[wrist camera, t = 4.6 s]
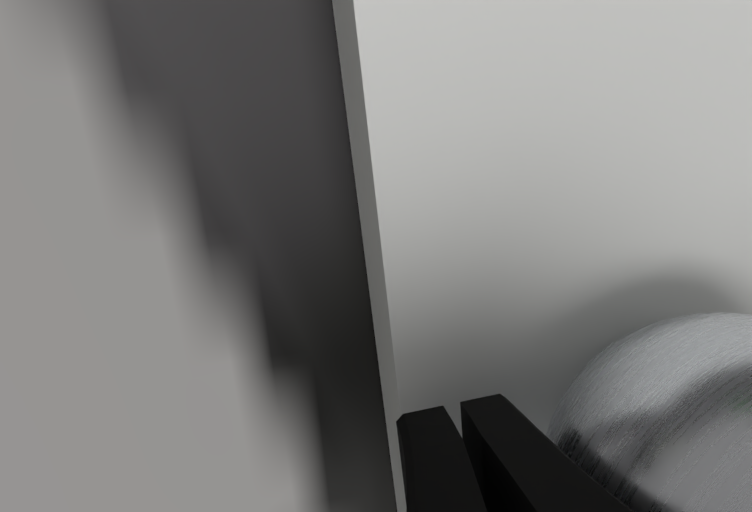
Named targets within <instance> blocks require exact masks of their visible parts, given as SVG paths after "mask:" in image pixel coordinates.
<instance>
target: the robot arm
mask: <svg viewBox="0 0 752 512" xmlns="http://www.w3.org/2000/svg"><path fill="white" fill-rule="evenodd" d="M460 408H461V424H462V437H461V435H460V433H459V432H458V430H457V428H456V426H455V424H454V422H453V421H452V419H451V417H450V416H449V414H448V413H447V411H446V409H445V408H444V406H438V407H433V408H428V409H424V410H419V411H414V412H409V413H405V414H402V415H401V417H400V418H399V419H398V420H397V421H396V425H397V434H398V442H399V450H400V458H401V466H402V474H403V483H404V491H405V499H406V507H407V510H406V512H634V511H633V510H631V509H630V508H629V507H628V506H626V505H625V504H624V503H623V502H621V501H620V500H619V499H618V498H617V497H615V496H614V495H613V494H612V493H611V492H609V491H608V490H607V489H606V488H605V487H604V486H602V485H601V484H600V483H599V482H598V481H596V480H595V479H594V478H593V477H592V476H590V475H589V474H588V473H587V472H586V471H585V470H583V469H582V468H581V467H580V466H579V465H578V464H577V463H575V462H574V461H573V460H572V459H571V458H570V457H569V456H567V455H566V454H565V453H564V452H563V451H562V450H561V449H560V448H559V447H558V446H556V445H555V444H554V443H553V442H552V441H551V440H550V439H549V438H548V437H547V436H546V435H544V434H543V433H542V432H541V431H540V430H539V429H538V428H537V427H536V426H535V425H534V424H533V423H532V422H531V421H530V420H529V419H528V418H527V417H526V416H524V415H523V414H522V413H521V412H520V411H519V410H518V409H517V408H516V407H515V406H514V405H513V404H512V403H511V402H510V401H509V400H508V399H507V398H506V397H504V396H503V395H501V394H495V395H490V396H486V397H481V398H476V399H471V400H467V401H462V402H460Z"/></svg>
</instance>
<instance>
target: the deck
mask: <svg viewBox="0 0 752 512" xmlns="http://www.w3.org/2000/svg"><path fill="white" fill-rule="evenodd" d="M332 4H333V12H334V20H335V28H336V36H337V44H338V51H339V59H340V67H341V75H342V83H343V90H344V98H345V106H346V114H347V122H348V130H349V137H350V145H351V153H352V161H353V169H354V177H355V184H356V192H357V200H358V208H359V216H360V223H361V231H362V239H363V247H364V255H365V263H366V270H367V278H368V286H369V294H370V302H371V310H372V317H373V325H374V333H375V341H376V349H377V356H378V364H379V372H380V380H381V388H382V396H383V403H384V411H385V419H386V427H387V435H388V443H389V450H390V458H391V466H392V474H393V482H394V489H395V497H396V505H397V512H406V510H407V507H406V499H405V491H404V483H403V474H402V466H401V458H400V450H399V442H398V434H397V425H396V421H397V420H398V419H399V418H400V417H401V415H402V414H405V413H409V412H414V411H419V410H424V409H428V408H433V407H438V406H444V408H445V409H446V411H447V413H448V414H449V416H450V417H451V419H452V421H453V422H454V424H455V426H456V428H457V430H458V432H459V433H460V435H461V437H462V424H461V408H460V402H462V401H467V400H471V399H476V398H481V397H486V396H490V395H495V394H501V395H503V396H504V397H506V398H507V399H508V400H509V401H510V402H511V403H512V404H513V405H514V406H515V407H516V408H517V409H518V410H519V411H520V412H521V413H522V414H523V415H524V416H526V417H527V418H528V419H529V420H530V421H531V422H532V423H533V424H534V425H535V426H536V427H537V428H538V429H539V430H540V431H541V432H542V433H543V434H544V435H546V433H547V429H548V426H549V423H550V420H551V418H552V416H553V413H554V411H555V409H556V407H557V405H558V403H559V401H560V399H561V397H562V396H563V394H564V393H565V391H566V390H567V388H568V387H569V385H570V384H571V382H572V381H573V380H574V378H575V377H576V376H577V375H578V373H579V372H580V371H581V370H582V369H583V368H584V367H585V366H586V365H587V364H588V363H589V362H590V361H591V360H592V359H593V358H594V357H595V356H596V355H597V354H599V353H600V352H601V351H602V350H603V349H605V348H606V347H607V346H609V345H610V344H612V343H613V342H615V341H616V340H618V339H620V338H621V337H623V336H625V335H627V334H629V333H631V332H633V331H635V330H638V329H640V328H642V327H645V326H647V325H649V324H652V323H655V322H658V321H662V320H665V319H669V318H674V317H678V316H683V315H690V314H697V313H716V312H723V313H741V314H751V315H752V0H332Z"/></svg>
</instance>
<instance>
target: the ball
mask: <svg viewBox="0 0 752 512" xmlns="http://www.w3.org/2000/svg"><path fill="white" fill-rule="evenodd" d="M546 436H547V437H548V438H549V439H550V440H551V441H552V442H553V443H554V444H555V445H556V446H558V447H559V448H560V449H561V450H562V451H563V452H564V453H565V454H566V455H567V456H569V457H570V458H571V459H572V460H573V461H574V462H575V463H577V464H578V465H579V466H580V467H581V468H582V469H583V470H585V471H586V472H587V473H588V474H589V475H590V476H592V477H593V478H594V479H595V480H596V481H598V482H599V483H600V484H601V485H602V486H604V487H605V488H606V489H607V490H608V491H609V492H611V493H612V494H613V495H614V496H615V497H617V498H618V499H619V500H620V501H621V502H623V503H624V504H625V505H626V506H628V507H629V508H630V509H631V510H633V511H634V512H752V315H751V314H741V313H723V312H716V313H697V314H690V315H683V316H678V317H674V318H669V319H665V320H662V321H658V322H655V323H652V324H649V325H647V326H645V327H642V328H640V329H638V330H635V331H633V332H631V333H629V334H627V335H625V336H623V337H621V338H620V339H618V340H616V341H615V342H613V343H612V344H610V345H609V346H607V347H606V348H605V349H603V350H602V351H601V352H600V353H599V354H597V355H596V356H595V357H594V358H593V359H592V360H591V361H590V362H589V363H588V364H587V365H586V366H585V367H584V368H583V369H582V370H581V371H580V372H579V373H578V375H577V376H576V377H575V378H574V380H573V381H572V382H571V384H570V385H569V387H568V388H567V390H566V391H565V393H564V394H563V396H562V397H561V399H560V401H559V403H558V405H557V407H556V409H555V411H554V413H553V416H552V418H551V420H550V423H549V426H548V429H547V433H546Z"/></svg>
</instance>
